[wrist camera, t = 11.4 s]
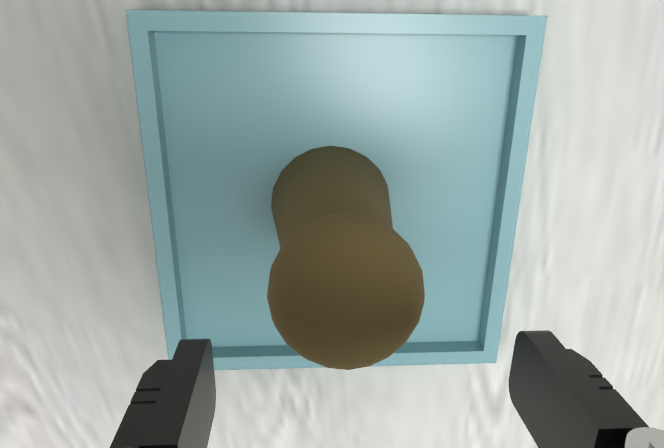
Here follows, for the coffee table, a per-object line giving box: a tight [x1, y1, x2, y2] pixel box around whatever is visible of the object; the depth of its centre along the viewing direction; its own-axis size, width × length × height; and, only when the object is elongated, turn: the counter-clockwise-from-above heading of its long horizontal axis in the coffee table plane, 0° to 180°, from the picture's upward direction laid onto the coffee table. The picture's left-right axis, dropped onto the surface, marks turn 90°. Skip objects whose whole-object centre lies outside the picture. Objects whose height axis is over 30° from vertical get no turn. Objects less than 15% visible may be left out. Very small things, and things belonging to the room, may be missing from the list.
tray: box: [126, 10, 547, 370], centre depth 25 cm, size 18×18×2 cm
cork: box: [267, 146, 425, 370], centre depth 20 cm, size 6×6×11 cm
